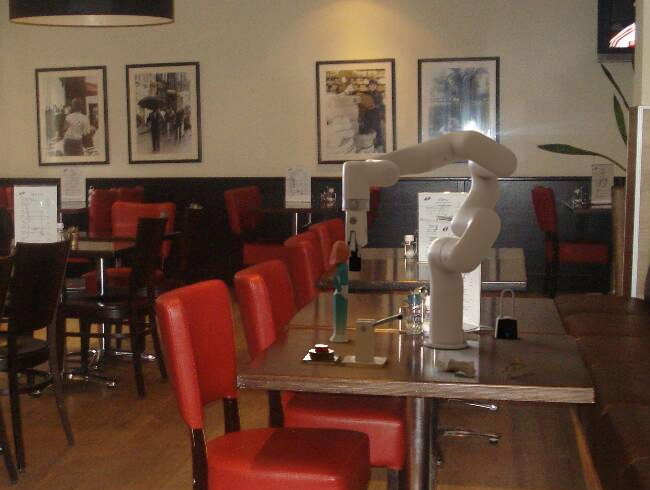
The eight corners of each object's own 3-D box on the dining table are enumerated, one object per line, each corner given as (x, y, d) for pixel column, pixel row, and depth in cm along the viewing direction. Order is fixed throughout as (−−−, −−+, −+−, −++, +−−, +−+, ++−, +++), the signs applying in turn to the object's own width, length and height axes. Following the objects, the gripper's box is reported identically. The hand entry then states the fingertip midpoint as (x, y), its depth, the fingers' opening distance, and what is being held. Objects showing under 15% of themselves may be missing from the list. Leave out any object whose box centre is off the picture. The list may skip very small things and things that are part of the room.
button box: (340, 359, 284) (340, 349, 283) (335, 365, 276) (336, 354, 276) (308, 358, 286) (308, 347, 286) (302, 363, 278) (302, 352, 278)
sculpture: (349, 344, 306) (350, 242, 303) (326, 343, 307) (327, 242, 304) (352, 336, 318) (353, 238, 315) (330, 336, 320) (331, 238, 317)
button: (329, 351, 282) (329, 344, 282) (327, 353, 279) (327, 347, 278) (316, 350, 283) (316, 344, 283) (313, 353, 280) (314, 346, 279)
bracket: (387, 362, 281) (387, 318, 279) (383, 368, 272) (383, 324, 271) (346, 359, 284) (347, 316, 283) (341, 366, 275) (341, 322, 274)
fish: (504, 380, 258) (505, 360, 258) (499, 379, 260) (499, 359, 259) (534, 374, 265) (535, 354, 265) (528, 373, 266) (529, 353, 266)
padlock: (517, 336, 318) (518, 288, 317) (518, 339, 314) (520, 289, 312) (494, 336, 319) (495, 287, 318) (495, 338, 315) (497, 289, 314)
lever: (406, 317, 276) (403, 309, 276) (404, 320, 271) (401, 312, 271) (362, 331, 280) (359, 322, 280) (360, 334, 275) (357, 325, 275)
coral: (438, 370, 270) (438, 353, 269) (478, 374, 265) (478, 357, 264) (431, 374, 265) (431, 357, 265) (472, 378, 260) (472, 361, 259)
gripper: (365, 207, 281) (364, 274, 283) (373, 204, 296) (372, 268, 297) (338, 206, 283) (337, 273, 285) (346, 204, 298) (345, 268, 299)
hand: (355, 271), depth 291 cm, fingers closed
